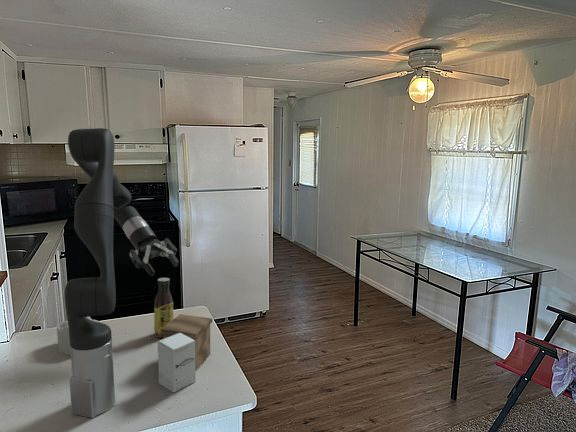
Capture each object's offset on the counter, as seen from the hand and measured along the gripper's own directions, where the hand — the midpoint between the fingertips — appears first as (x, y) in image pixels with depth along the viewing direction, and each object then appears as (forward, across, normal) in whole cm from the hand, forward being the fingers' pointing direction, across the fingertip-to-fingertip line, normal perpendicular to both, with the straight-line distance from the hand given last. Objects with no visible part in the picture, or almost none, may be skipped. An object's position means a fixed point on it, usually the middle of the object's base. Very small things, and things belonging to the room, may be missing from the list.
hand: (165, 269), depth 130 cm
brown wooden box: (+26, -5, +12) cm, 29 cm away
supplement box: (+31, -14, +6) cm, 35 cm away
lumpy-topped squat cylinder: (-2, -23, +31) cm, 38 cm away
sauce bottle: (+10, 0, +25) cm, 27 cm away
